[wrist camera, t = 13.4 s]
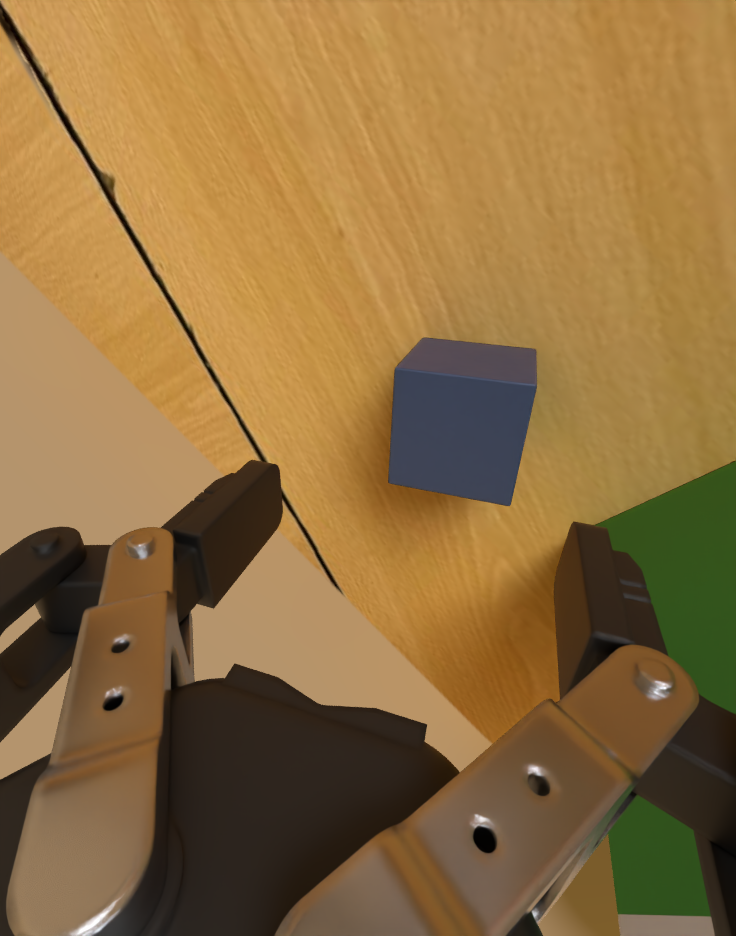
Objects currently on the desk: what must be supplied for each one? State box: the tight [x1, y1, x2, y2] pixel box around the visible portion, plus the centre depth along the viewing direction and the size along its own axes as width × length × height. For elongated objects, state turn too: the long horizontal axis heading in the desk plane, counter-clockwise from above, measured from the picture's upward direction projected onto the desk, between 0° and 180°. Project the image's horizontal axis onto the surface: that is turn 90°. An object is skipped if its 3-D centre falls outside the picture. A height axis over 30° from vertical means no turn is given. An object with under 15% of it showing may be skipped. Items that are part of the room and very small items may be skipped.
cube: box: [388, 338, 537, 506], centre depth 19 cm, size 5×5×5 cm
